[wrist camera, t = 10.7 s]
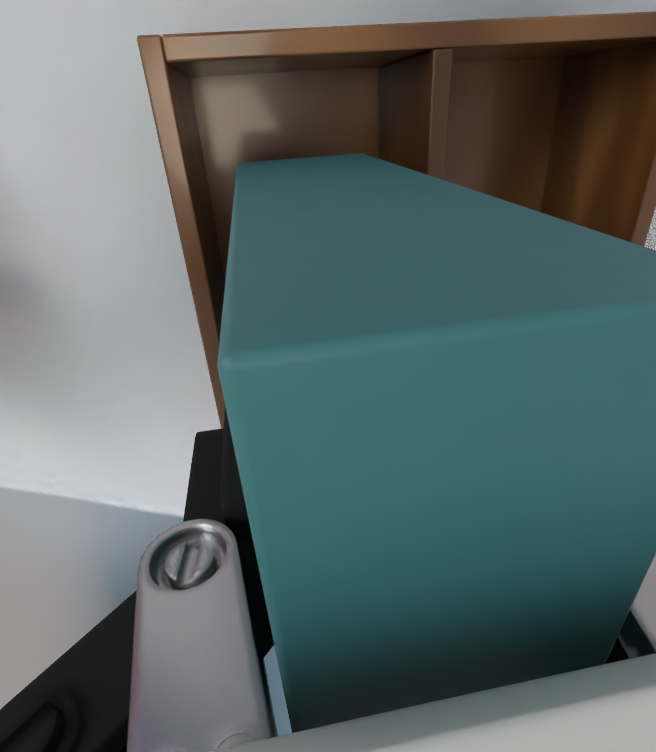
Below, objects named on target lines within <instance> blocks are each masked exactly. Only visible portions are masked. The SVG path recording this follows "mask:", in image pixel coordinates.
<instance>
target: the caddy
mask: <svg viewBox="0 0 656 752" xmlns="http://www.w3.org/2000/svg"><path fill="white" fill-rule="evenodd" d="M137 42H138V46H139V51H140V55H141V60H142V65H143V69H144V74H145V78H146V83H147V88H148V92H149V97H150V101H151V106H152V111H153V115H154V120H155V125H156V129H157V134H158V138H159V143H160V148H161V152H162V157H163V161H164V166H165V171H166V175H167V180H168V184H169V189H170V194H171V198H172V203H173V208H174V212H175V217H176V221H177V226H178V231H179V235H180V240H181V244H182V249H183V254H184V258H185V263H186V267H187V272H188V277H189V281H190V286H191V291H192V295H193V300H194V304H195V309H196V314H197V318H198V323H199V327H200V332H201V337H202V341H203V346H204V350H205V355H206V360H207V364H208V369H209V374H210V378H211V383H212V387H213V392H214V397H215V401H216V406H217V410H218V415H219V420H220V424H221V429H224V413H225V402H224V397H223V392H222V387H221V382H220V377H219V372H218V367H217V363H218V353H219V343H220V332H221V322H222V312H223V302H224V292H225V281H226V271H227V261H228V251H229V241H230V231H231V220H232V210H233V200H234V190H235V180H236V169H237V164H239V163H243V162H256V161H269V160H281V159H294V158H307V157H320V156H333V155H346V154H359V153H363V154H366V155H369V156H372V157H375V158H378V159H381V160H384V161H387V162H390V163H393V164H396V165H400V166H403V167H406V168H409V169H412V170H415V171H418V172H421V173H424V174H427V175H430V176H433V177H436V178H439V179H442V180H445V181H448V182H451V183H454V184H457V185H460V186H463V187H466V188H469V189H472V190H475V191H478V192H481V193H484V194H487V195H490V196H493V197H496V198H499V199H502V200H505V201H508V202H511V203H514V204H517V205H520V206H523V207H526V208H529V209H532V210H535V211H538V212H541V213H544V214H547V215H550V216H553V217H556V218H559V219H562V220H565V221H568V222H571V223H574V224H577V225H580V226H583V227H586V228H589V229H592V230H595V231H598V232H601V233H604V234H607V235H610V236H613V237H616V238H619V239H622V240H625V241H628V242H631V243H634V244H637V245H640V246H643V247H644V245H645V241H646V238H647V234H648V231H649V228H650V224H651V221H652V217H653V214H654V210H655V207H656V12H634V13H613V14H591V15H570V16H548V17H527V18H506V19H484V20H463V21H441V22H420V23H398V24H377V25H355V26H334V27H312V28H291V29H269V30H248V31H226V32H205V33H184V34H164V35H162V37H161V36H160V35H140V36H137Z"/></svg>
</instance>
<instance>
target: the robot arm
mask: <svg viewBox="0 0 656 752" xmlns="http://www.w3.org/2000/svg"><path fill="white" fill-rule="evenodd" d="M273 645H274V641H273V636H272V631H271V626H270V621H269V616H268V611H267V606H266V602H265V597H264V592H263V587H262V582H261V577H260V572H259V567H258V563H257V558H256V553H255V548H254V543H253V538H252V533H251V528H250V524H249V519H248V514H247V509H246V504H245V499H244V494H243V489H242V485H241V480H240V475H239V470H238V465H237V460H236V455H235V450H234V445H233V441H232V436H231V431H230V426H229V421H228V416H227V411H226V406H225V413H224V429H217V430H210V431H203V432H198V433H197V434H196V437H195V443H194V450H193V457H192V464H191V471H190V478H189V485H188V492H187V499H186V506H185V513H184V520H183V522H182V523H180V524H177V525H174V526H172V527H171V528H169V529H167V530H166V531H164V532H162V533H161V534H159V535H158V536H157V537H156V538H155V539H154V540H153V541H152V542H151V543H150V544H149V545H148V547H147V548H146V550H145V552H144V553H143V555H142V557H141V559H140V564H139V567H138V575H137V590H136V591H135V592H134V593H133V594H132V595H131V596H130V597H129V598H127V599H126V600H125V601H124V602H123V603H122V604H120V605H119V606H118V607H117V608H116V609H115V610H114V611H112V613H110V614H109V615H108V616H107V617H106V618H105V619H103V620H102V621H101V622H100V623H99V624H98V625H96V626H95V627H94V628H93V629H92V630H91V631H90V632H88V633H87V634H86V635H85V636H84V637H83V638H82V639H80V640H79V641H78V642H77V643H76V644H75V645H73V646H72V647H71V648H70V649H69V650H68V651H67V652H65V653H64V654H63V655H62V656H61V657H60V658H59V659H57V660H56V661H55V662H54V663H53V664H52V665H51V666H50V667H48V668H47V669H46V670H45V671H44V672H43V673H41V674H40V675H39V676H38V677H37V678H36V679H35V680H33V681H32V682H31V683H30V684H29V685H28V686H27V687H25V688H24V689H23V690H22V691H21V692H20V693H19V694H17V695H16V696H15V697H14V698H13V699H12V700H11V701H9V702H8V703H7V704H6V705H5V706H4V707H3V708H2V709H1V710H0V752H656V554H655V556H654V558H653V560H652V563H651V565H650V567H649V569H648V571H647V574H646V576H645V578H644V580H643V582H642V585H641V587H640V589H639V591H638V593H637V596H636V598H635V600H634V602H633V604H632V606H631V609H630V611H629V613H628V615H627V617H626V620H625V622H624V624H623V626H622V628H621V631H620V633H619V635H618V637H617V639H616V642H615V644H614V646H613V648H612V650H611V652H610V655H609V657H608V659H607V661H606V663H605V664H603V665H599V666H594V667H590V668H585V669H580V670H576V671H571V672H567V673H562V674H558V675H553V676H548V677H544V678H539V679H535V680H530V681H525V682H521V683H516V684H512V685H507V686H502V687H498V688H493V689H489V690H484V691H480V692H475V693H470V694H466V695H461V696H457V697H452V698H448V699H443V700H439V701H434V702H429V703H425V704H420V705H416V706H411V707H407V708H402V709H398V710H393V711H389V712H384V713H380V714H375V715H371V716H366V717H362V718H358V719H353V720H349V721H344V722H340V723H335V724H331V725H326V726H322V727H317V728H313V729H308V730H304V731H299V732H295V733H291V734H287V735H282V736H278V734H277V729H276V723H275V718H274V713H273V707H272V702H271V696H270V691H269V685H268V680H267V674H266V669H265V663H264V657H265V655H266V654H267V653H268V652H269V650H270V649H271V648H272V647H273Z"/></svg>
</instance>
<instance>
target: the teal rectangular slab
mask: <svg viewBox="0 0 656 752" xmlns="http://www.w3.org/2000/svg"><path fill="white" fill-rule="evenodd" d="M217 367H218V372H219V377H220V382H221V387H222V392H223V397H224V402H225V406H226V411H227V416H228V421H229V426H230V431H231V436H232V441H233V445H234V450H235V455H236V460H237V465H238V470H239V475H240V480H241V485H242V489H243V494H244V499H245V504H246V509H247V514H248V519H249V524H250V528H251V533H252V538H253V543H254V548H255V553H256V558H257V563H258V567H259V572H260V577H261V582H262V587H263V592H264V597H265V602H266V606H267V611H268V616H269V621H270V626H271V631H272V636H273V641H274V645H275V650H276V655H277V660H278V664H279V670H280V675H281V679H282V684H283V689H284V694H285V699H286V704H287V708H288V714H289V719H290V723H291V728H292V733H295V732H299V731H304V730H308V729H313V728H317V727H322V726H326V725H331V724H335V723H340V722H344V721H349V720H353V719H358V718H362V717H366V716H371V715H375V714H380V713H384V712H389V711H393V710H398V709H402V708H407V707H411V706H416V705H420V704H425V703H429V702H434V701H439V700H443V699H448V698H452V697H457V696H461V695H466V694H470V693H475V692H480V691H484V690H489V689H493V688H498V687H502V686H507V685H512V684H516V683H521V682H525V681H530V680H535V679H539V678H544V677H548V676H553V675H558V674H562V673H567V672H571V671H576V670H580V669H585V668H590V667H594V666H599V665H603V664H605V663H606V661H607V659H608V657H609V655H610V652H611V650H612V648H613V646H614V644H615V642H616V639H617V637H618V635H619V633H620V631H621V628H622V626H623V624H624V622H625V620H626V617H627V615H628V613H629V611H630V609H631V606H632V604H633V602H634V600H635V598H636V596H637V593H638V591H639V589H640V587H641V585H642V582H643V580H644V578H645V576H646V574H647V571H648V569H649V567H650V565H651V563H652V560H653V558H654V556H655V554H656V251H655V250H652V249H649V248H646V247H643V246H640V245H637V244H634V243H631V242H628V241H625V240H622V239H619V238H616V237H613V236H610V235H607V234H604V233H601V232H598V231H595V230H592V229H589V228H586V227H583V226H580V225H577V224H574V223H571V222H568V221H565V220H562V219H559V218H556V217H553V216H550V215H547V214H544V213H541V212H538V211H535V210H532V209H529V208H526V207H523V206H520V205H517V204H514V203H511V202H508V201H505V200H502V199H499V198H496V197H493V196H490V195H487V194H484V193H481V192H478V191H475V190H472V189H469V188H466V187H463V186H460V185H457V184H454V183H451V182H448V181H445V180H442V179H439V178H436V177H433V176H430V175H427V174H424V173H421V172H418V171H415V170H412V169H409V168H406V167H403V166H400V165H396V164H393V163H390V162H387V161H384V160H381V159H378V158H375V157H372V156H369V155H366V154H363V153H359V154H346V155H333V156H320V157H307V158H294V159H281V160H269V161H256V162H243V163H239V164H237V169H236V180H235V190H234V200H233V210H232V220H231V231H230V241H229V251H228V261H227V271H226V281H225V292H224V302H223V312H222V322H221V332H220V343H219V353H218V363H217Z"/></svg>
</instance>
